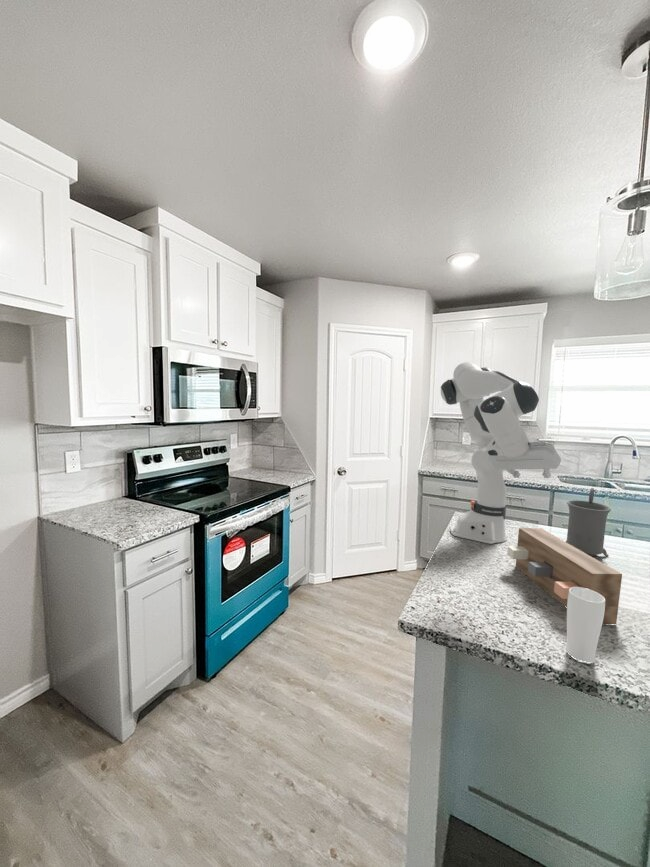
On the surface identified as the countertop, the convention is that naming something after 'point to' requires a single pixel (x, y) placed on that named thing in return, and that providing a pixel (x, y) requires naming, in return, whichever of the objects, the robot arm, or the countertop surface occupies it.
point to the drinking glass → (584, 622)
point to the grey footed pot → (587, 525)
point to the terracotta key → (564, 588)
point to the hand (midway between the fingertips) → (532, 476)
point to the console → (570, 568)
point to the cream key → (518, 552)
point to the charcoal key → (540, 569)
